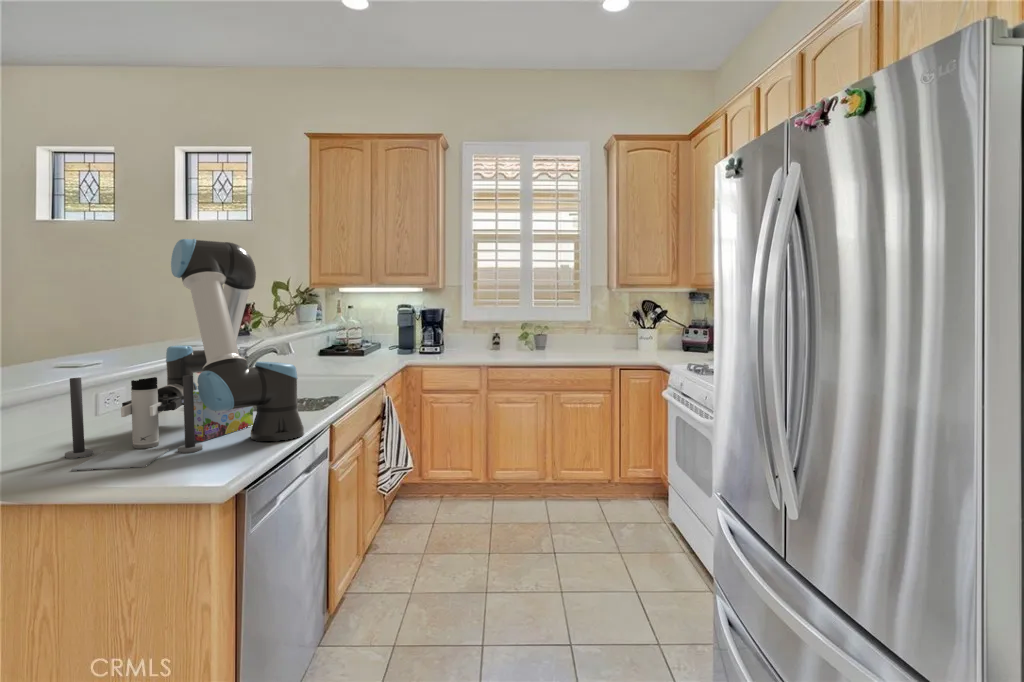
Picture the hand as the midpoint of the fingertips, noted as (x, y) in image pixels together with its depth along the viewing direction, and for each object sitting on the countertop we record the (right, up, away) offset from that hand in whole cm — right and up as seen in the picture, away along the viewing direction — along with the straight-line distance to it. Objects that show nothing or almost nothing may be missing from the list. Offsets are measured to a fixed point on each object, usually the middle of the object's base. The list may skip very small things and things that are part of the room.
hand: (137, 411), depth 149 cm
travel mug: (-1, -11, +6) cm, 12 cm away
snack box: (+12, -10, +22) cm, 27 cm away
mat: (+2, -12, -8) cm, 14 cm away
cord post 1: (-13, -11, -4) cm, 17 cm away
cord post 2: (+14, -11, +2) cm, 18 cm away
